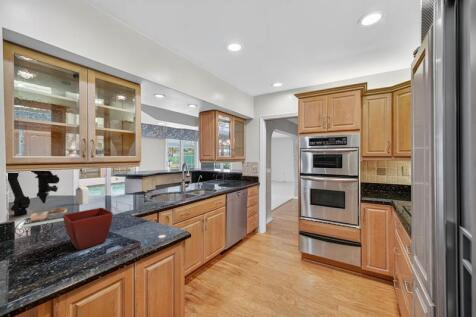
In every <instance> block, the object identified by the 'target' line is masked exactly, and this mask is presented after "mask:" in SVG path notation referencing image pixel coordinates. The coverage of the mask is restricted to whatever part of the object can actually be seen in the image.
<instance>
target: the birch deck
mask: <svg viewBox="0 0 476 317" xmlns="http://www.w3.org/2000/svg"><path fill="white" fill-rule="evenodd" d="M64 213H65V214H66V213H68V208H64V212H61V213H55V214H51V210H48V211H47V210H46V211H40V212H35V213H30V216H29V217H28V219H31V218H32V217H33V216H39V215H46V214H47V216H51V215H52V216H53V215H59V214H64Z"/></svg>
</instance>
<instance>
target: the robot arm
mask: <svg viewBox="0 0 476 317" xmlns="http://www.w3.org/2000/svg"><path fill="white" fill-rule="evenodd" d="M31 173H33V174H35V175H36V176H35V177H34V178H35V179H37V183H38V184H37V187H38V189H37V190H38V191H37V193H36V197H38V198H39V199H40V201H41V202H42V204H46V201H47V197H48V196H49V194H50V192H55V193H56V192H58V189H59V187H58V186H57V185H55V184H58V183H59V182H60V178H59V176H58V174H53V173H52V171H51V170H50V171H31ZM18 177H19V172H18V173H8V180H7V181H8V184H9V186H10V188H11V191H12V194H13V196H14V200H13V205H12V206H11V207H10V211H12V212H13V216H14V217H23V216H26V215H28V208H29V206H30V204H31V200H30V197H29V196H26V195H25V194H24V192H23V190H22V188H21V185H20V181H19V179H18ZM50 184H54V185H50Z"/></svg>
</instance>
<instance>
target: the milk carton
mask: <svg viewBox="0 0 476 317" xmlns="http://www.w3.org/2000/svg"><path fill="white" fill-rule="evenodd" d="M89 190H90V189H89V188H88V187H87V185H86V184H81V185H78V187H77V188H76V189H75V205H89V204H90V193H89V192H90V191H89Z"/></svg>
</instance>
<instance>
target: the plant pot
mask: <svg viewBox="0 0 476 317" xmlns="http://www.w3.org/2000/svg"><path fill="white" fill-rule="evenodd" d="M113 215H114V212H112V211H110V210H108V209H106V208H104V207H98V208H97V207H96V208H92V209H87V210H80V211H76V212H71V213H65V214H63V215H62V217H63V218H64V221H63V223H64V227H65V230H66V232H67V235H68V238H69V240H70V241H71V243H72V245H73V246H74V248H75V249H76V250H77V251H81V250H84V249H87V248H90V247H94V246H98V245H101V244H103V243H105V242H106V241H107V238H108V235H109V232H110V229H111V226H112V223H113ZM100 243H101V244H100Z"/></svg>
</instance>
